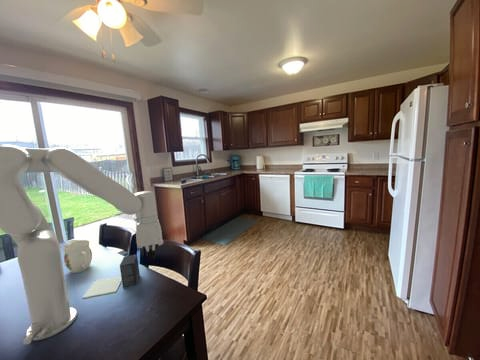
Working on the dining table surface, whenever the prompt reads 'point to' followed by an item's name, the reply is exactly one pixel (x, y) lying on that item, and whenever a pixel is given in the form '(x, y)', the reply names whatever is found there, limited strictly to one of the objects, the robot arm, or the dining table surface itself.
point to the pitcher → (77, 255)
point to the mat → (103, 286)
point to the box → (129, 271)
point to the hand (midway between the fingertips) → (152, 258)
